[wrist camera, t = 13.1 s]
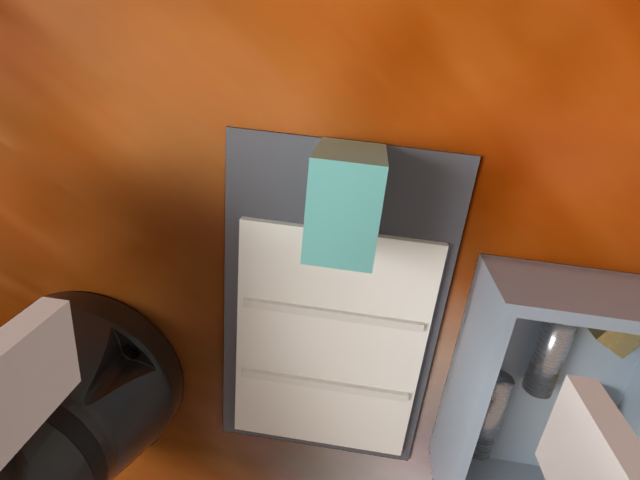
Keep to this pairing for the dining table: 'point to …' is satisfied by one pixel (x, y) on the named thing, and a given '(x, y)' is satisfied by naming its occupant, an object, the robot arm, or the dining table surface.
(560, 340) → the parts
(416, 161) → the mat
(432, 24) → the dining table surface
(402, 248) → the lid
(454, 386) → the tub
